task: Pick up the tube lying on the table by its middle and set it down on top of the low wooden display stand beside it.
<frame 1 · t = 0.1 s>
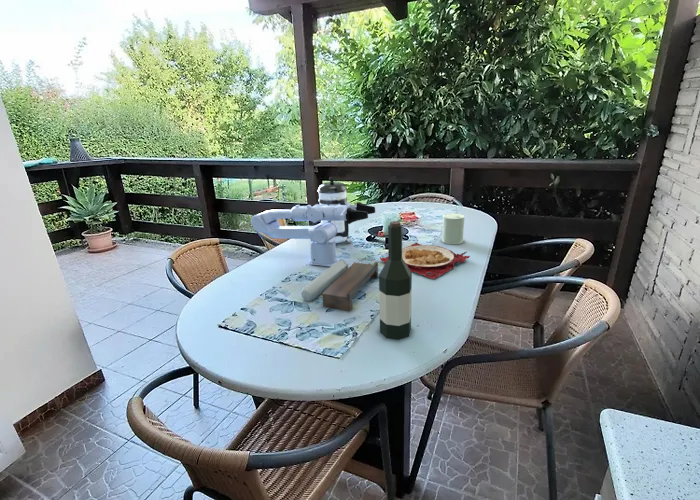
hand: (371, 212, 131), 22 cm above the table, tool horizontal, fingers open, 7 cm apart
wooden display stand: (352, 290, 121), on the table
can: (452, 241, 163), on the table
coffee press: (337, 243, 167), on the table
plate with food: (424, 261, 142), on the table
wine bottle: (395, 331, 97), on the table
tube: (325, 287, 125), on the table
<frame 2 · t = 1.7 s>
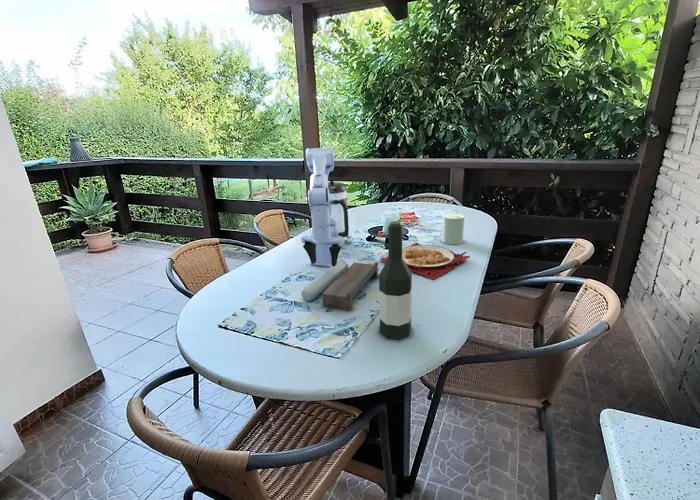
hand: (324, 264, 122), 8 cm above the table, tool pointing down, fingers open, 7 cm apart
nothing on the table moved.
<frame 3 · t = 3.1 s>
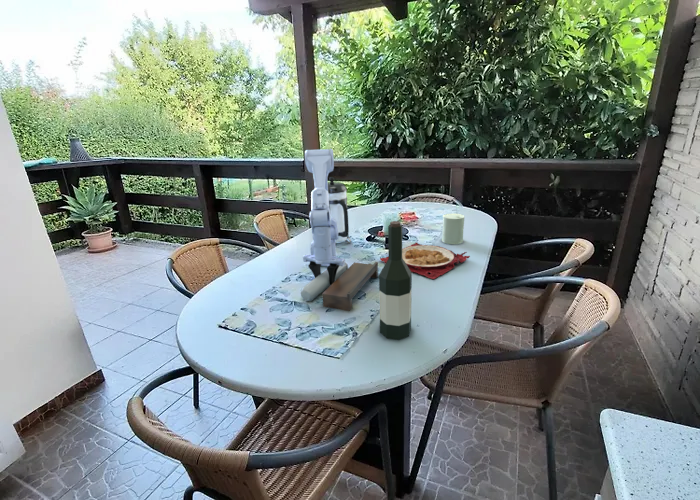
hand: (325, 282, 124), 1 cm above the table, tool pointing down, fingers closed on tube, 4 cm apart
tube: (325, 287, 125), on the table, touching gripper
everything else where it was.
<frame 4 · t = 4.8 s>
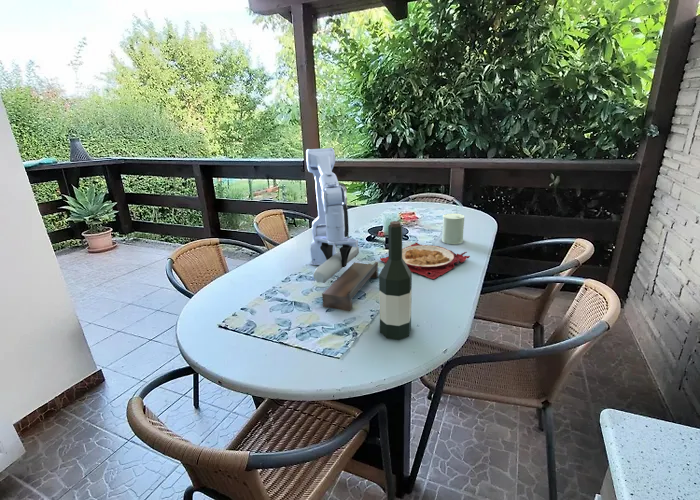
hand: (337, 265, 120), 8 cm above the table, tool pointing down, fingers closed on tube, 4 cm apart
tube: (337, 269, 120), point 7 cm above the table, touching gripper
everything else where it was.
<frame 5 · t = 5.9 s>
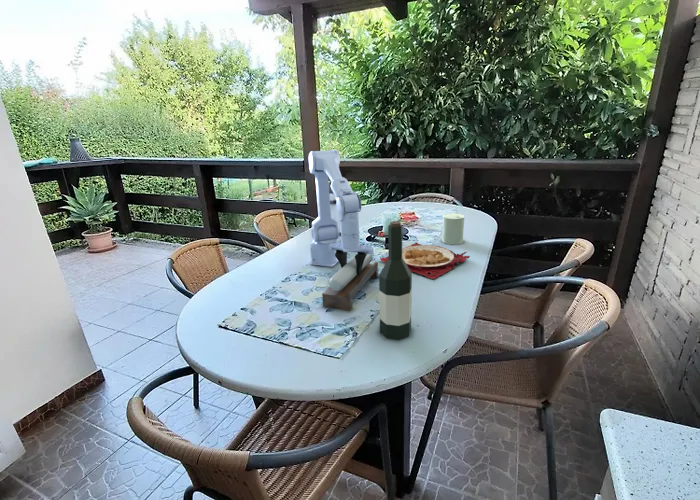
hand: (351, 272, 119), 6 cm above the table, tool pointing down, fingers closed on tube, 4 cm apart
tube: (351, 277, 119), point 5 cm above the table, touching gripper
everything else where it was.
when the fingers open (6 cm above the table, at t = 6.6 s): tube stays where it is, resting on wooden display stand.
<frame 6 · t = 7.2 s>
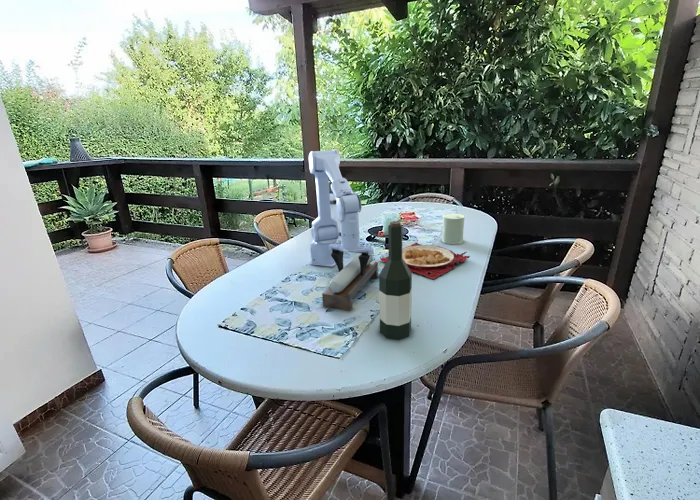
hand: (351, 273, 119), 6 cm above the table, tool pointing down, fingers open, 7 cm apart
tube: (351, 278, 119), point 4 cm above the table, touching wooden display stand
everything else where it was.
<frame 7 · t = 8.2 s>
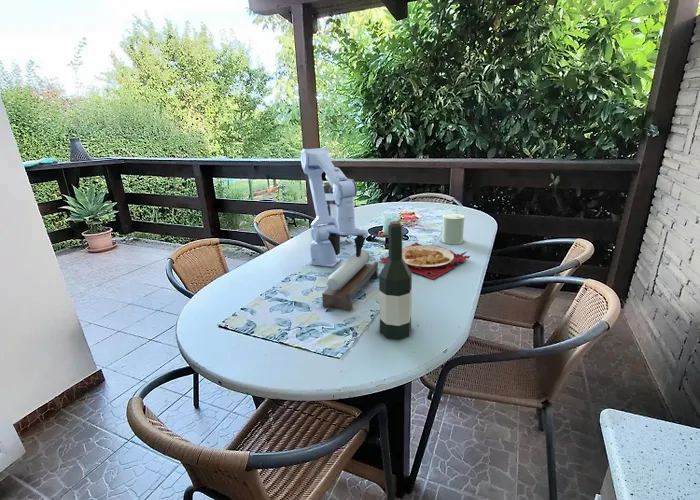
hand: (348, 255, 126), 9 cm above the table, tool pointing down, fingers open, 7 cm apart
tube: (351, 276, 119), point 5 cm above the table, touching gripper
everything else where it was.
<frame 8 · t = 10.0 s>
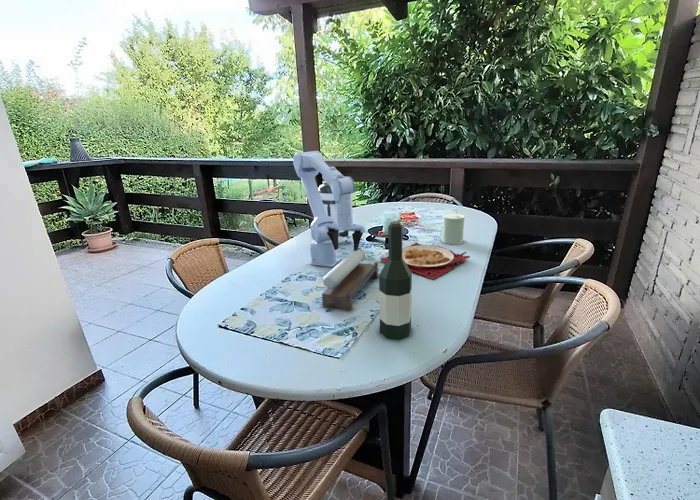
hand: (346, 249, 131), 9 cm above the table, tool pointing down, fingers open, 7 cm apart
tube: (350, 273, 119), point 6 cm above the table, touching gripper, wooden display stand
everything else where it was.
at the end: tube inside the target area on the wooden display stand (0.7 cm from its centre), point 6.0 cm above the wooden display stand's base; tube touching gripper, wooden display stand; the gripper is holding nothing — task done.
